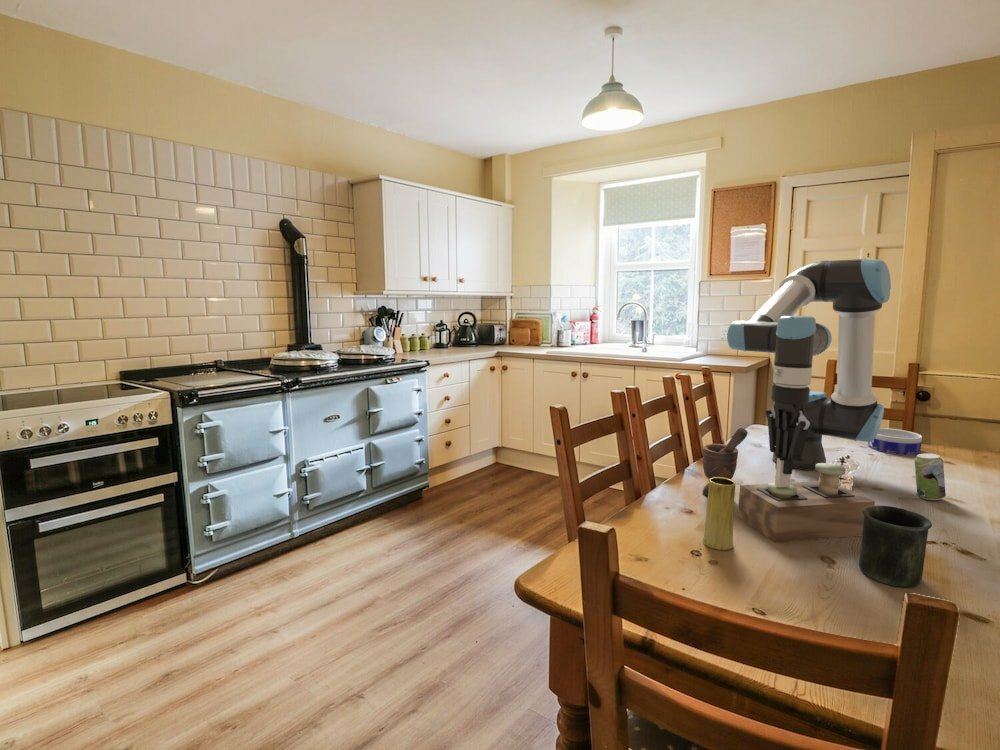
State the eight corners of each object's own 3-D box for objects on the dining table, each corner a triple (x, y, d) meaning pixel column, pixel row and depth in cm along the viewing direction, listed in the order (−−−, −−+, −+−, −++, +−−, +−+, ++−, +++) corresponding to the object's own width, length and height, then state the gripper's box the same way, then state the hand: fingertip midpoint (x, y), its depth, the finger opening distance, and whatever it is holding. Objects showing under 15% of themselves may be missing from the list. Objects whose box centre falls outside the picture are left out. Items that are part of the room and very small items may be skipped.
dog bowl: (857, 444, 201) (858, 428, 200) (895, 443, 203) (897, 427, 202) (890, 456, 186) (892, 439, 185) (931, 455, 188) (934, 438, 187)
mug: (854, 578, 105) (860, 518, 103) (858, 550, 117) (864, 496, 115) (925, 596, 99) (933, 533, 97) (922, 564, 111) (929, 508, 109)
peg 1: (759, 515, 130) (762, 483, 129) (782, 514, 131) (785, 482, 130) (776, 526, 124) (779, 492, 123) (800, 524, 125) (803, 490, 124)
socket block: (737, 516, 134) (740, 484, 133) (825, 511, 138) (828, 479, 137) (775, 542, 120) (778, 505, 119) (871, 535, 124) (875, 500, 123)
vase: (730, 553, 115) (735, 487, 113) (699, 546, 118) (704, 482, 116) (735, 542, 120) (739, 479, 118) (706, 535, 123) (710, 474, 121)
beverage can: (950, 503, 143) (955, 459, 142) (918, 501, 145) (923, 457, 143) (936, 495, 150) (941, 452, 148) (905, 492, 151) (910, 450, 149)
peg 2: (806, 495, 132) (809, 463, 130) (828, 494, 133) (832, 462, 131) (825, 505, 126) (828, 471, 125) (848, 503, 127) (851, 470, 126)
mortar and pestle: (751, 498, 146) (756, 424, 144) (738, 506, 140) (744, 430, 137) (708, 487, 154) (713, 417, 151) (695, 495, 148) (699, 422, 145)
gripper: (757, 380, 129) (750, 477, 132) (795, 390, 116) (786, 497, 120) (786, 380, 130) (778, 476, 134) (827, 389, 117) (817, 495, 121)
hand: (782, 485), depth 127 cm, fingers closed
